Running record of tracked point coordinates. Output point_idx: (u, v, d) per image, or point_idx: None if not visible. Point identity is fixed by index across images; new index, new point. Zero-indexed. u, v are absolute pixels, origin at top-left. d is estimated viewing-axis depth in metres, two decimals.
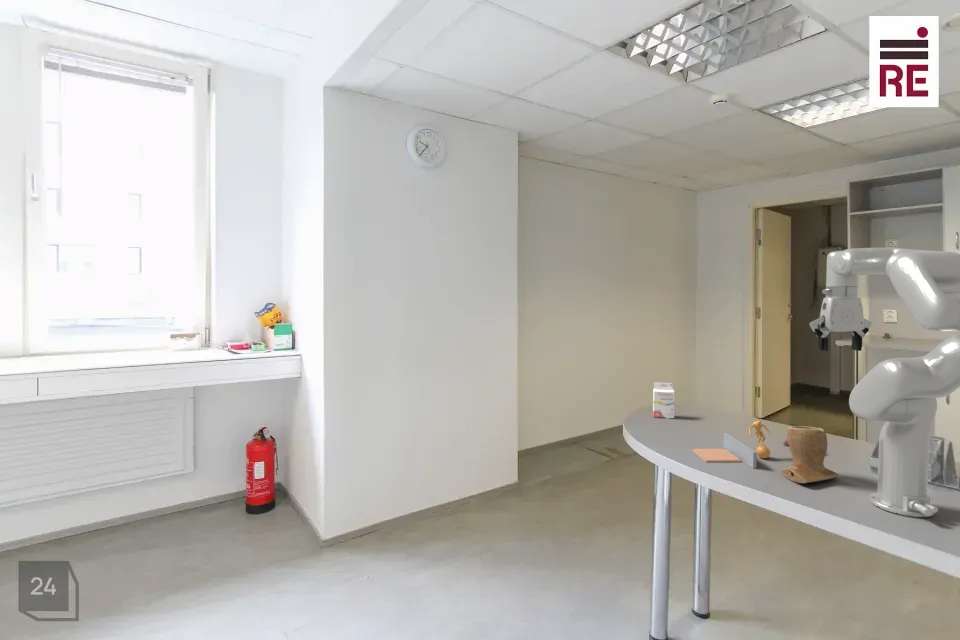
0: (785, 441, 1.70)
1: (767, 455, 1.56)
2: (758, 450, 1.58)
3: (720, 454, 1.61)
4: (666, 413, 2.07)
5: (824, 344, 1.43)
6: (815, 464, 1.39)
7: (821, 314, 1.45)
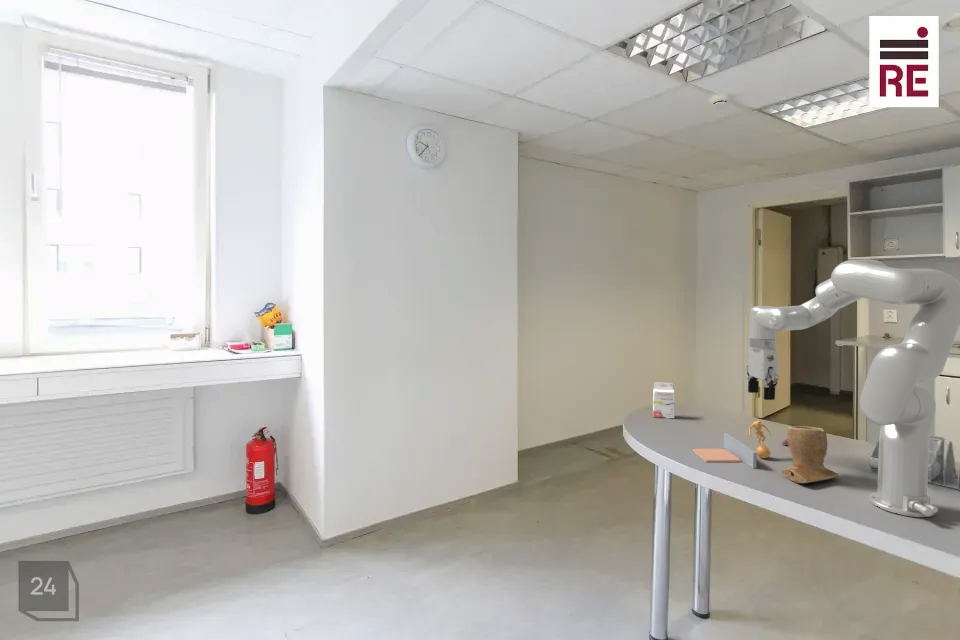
0: (784, 441, 1.70)
1: (767, 455, 1.56)
2: (758, 450, 1.58)
3: (720, 454, 1.61)
4: (666, 413, 2.07)
5: None
6: (815, 464, 1.39)
7: (767, 366, 1.53)
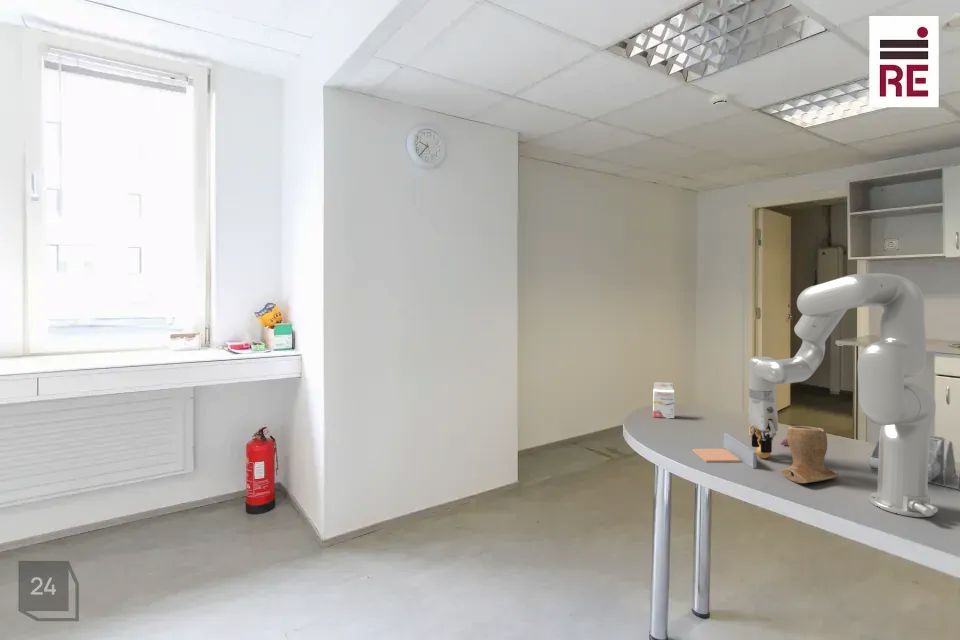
0: (783, 441, 1.70)
1: (767, 455, 1.56)
2: (758, 450, 1.58)
3: (720, 454, 1.61)
4: (666, 413, 2.07)
5: (770, 446, 1.56)
6: (815, 464, 1.39)
7: (767, 417, 1.53)
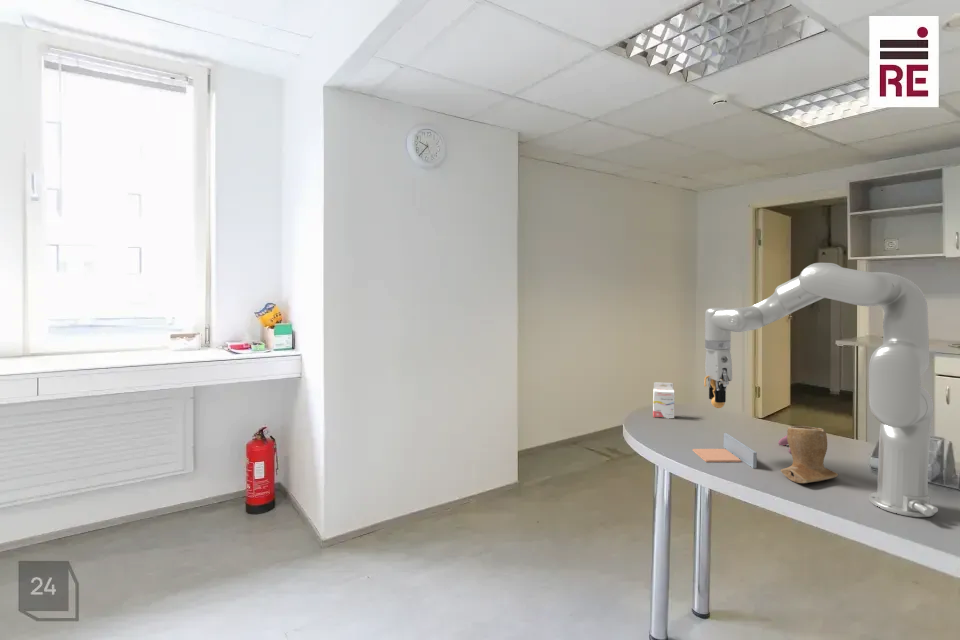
0: (780, 441, 1.70)
1: (721, 405, 1.58)
2: (713, 400, 1.59)
3: (720, 454, 1.61)
4: (666, 413, 2.07)
5: (724, 396, 1.57)
6: (815, 464, 1.39)
7: (721, 367, 1.54)
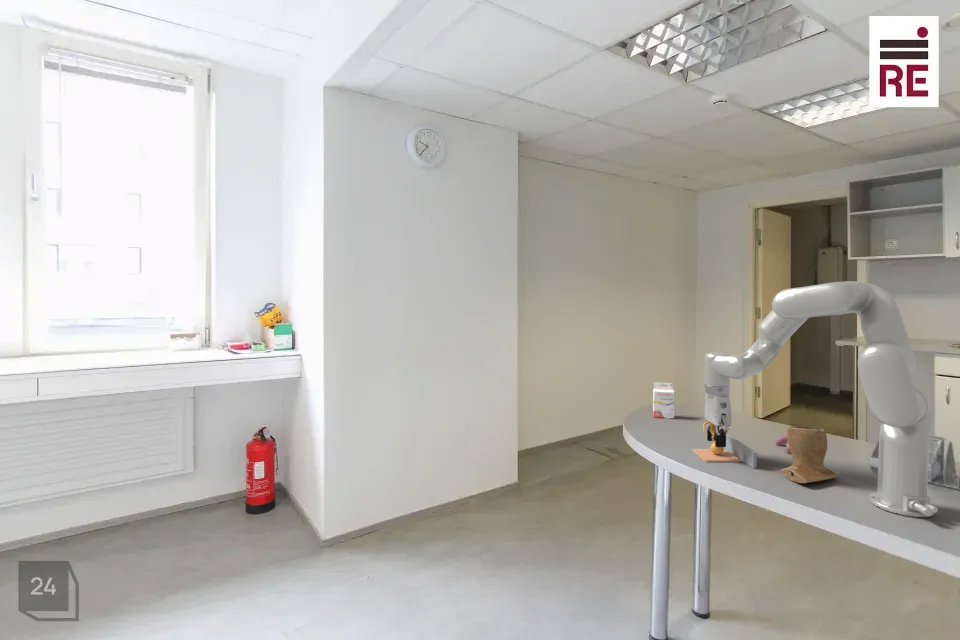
0: (778, 441, 1.70)
1: (720, 451, 1.59)
2: (712, 446, 1.61)
3: (720, 454, 1.61)
4: (666, 413, 2.07)
5: None
6: (815, 464, 1.39)
7: (720, 412, 1.55)
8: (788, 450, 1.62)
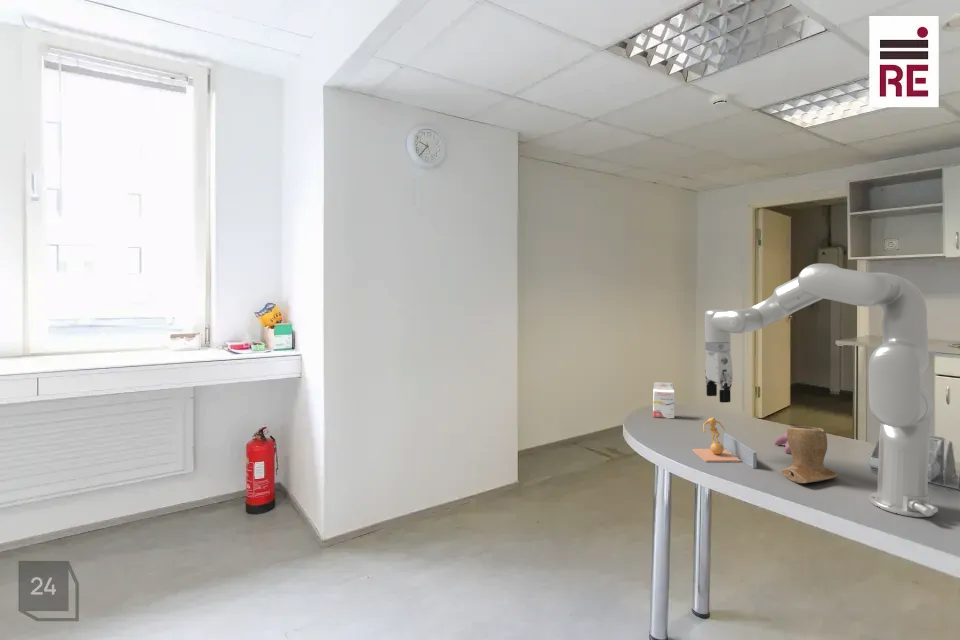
0: (777, 441, 1.70)
1: (720, 451, 1.59)
2: (712, 446, 1.61)
3: (720, 454, 1.61)
4: (666, 413, 2.07)
5: (728, 396, 1.54)
6: (815, 464, 1.39)
7: (721, 368, 1.54)
8: (787, 450, 1.62)
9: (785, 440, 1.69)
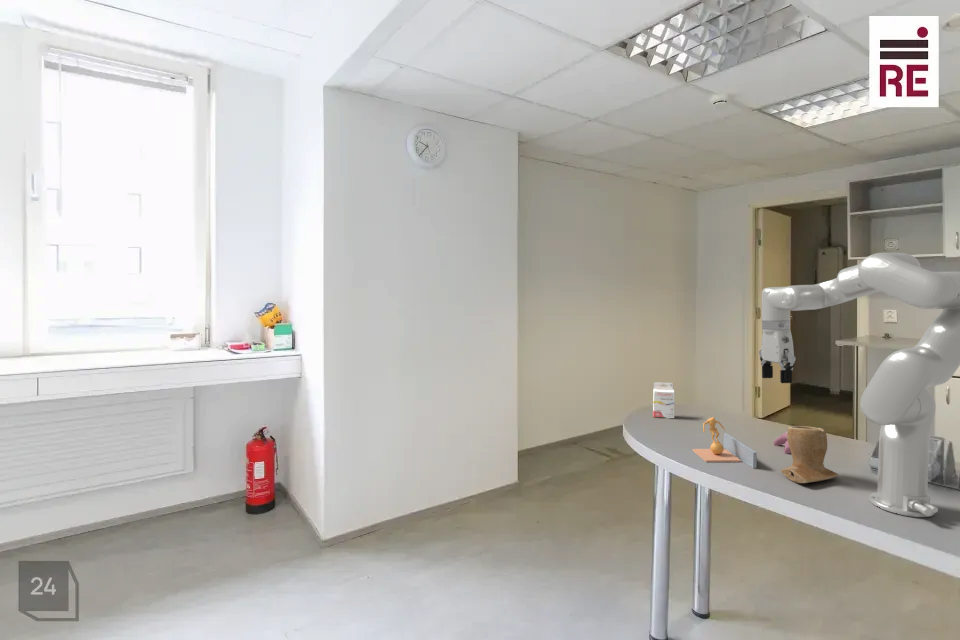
0: (776, 441, 1.70)
1: (720, 451, 1.59)
2: (712, 446, 1.61)
3: (720, 454, 1.61)
4: (666, 413, 2.07)
5: None
6: (815, 464, 1.39)
7: (782, 348, 1.47)
8: (786, 450, 1.62)
9: (784, 440, 1.69)
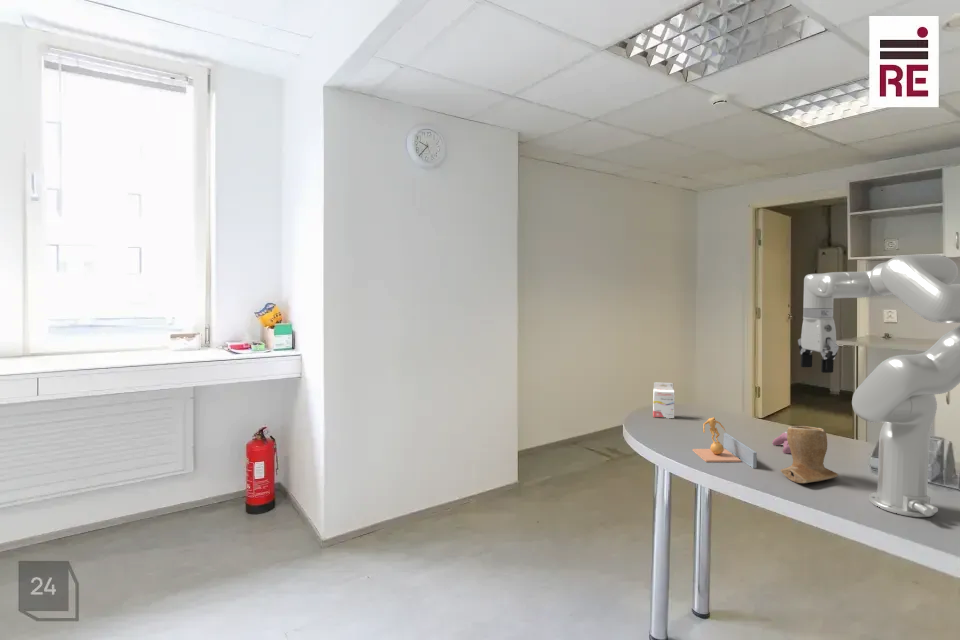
0: (774, 441, 1.70)
1: (720, 451, 1.59)
2: (712, 446, 1.61)
3: (720, 454, 1.61)
4: (666, 413, 2.07)
5: (831, 365, 1.44)
6: (815, 464, 1.39)
7: (824, 336, 1.43)
8: (785, 450, 1.62)
9: (783, 440, 1.69)
